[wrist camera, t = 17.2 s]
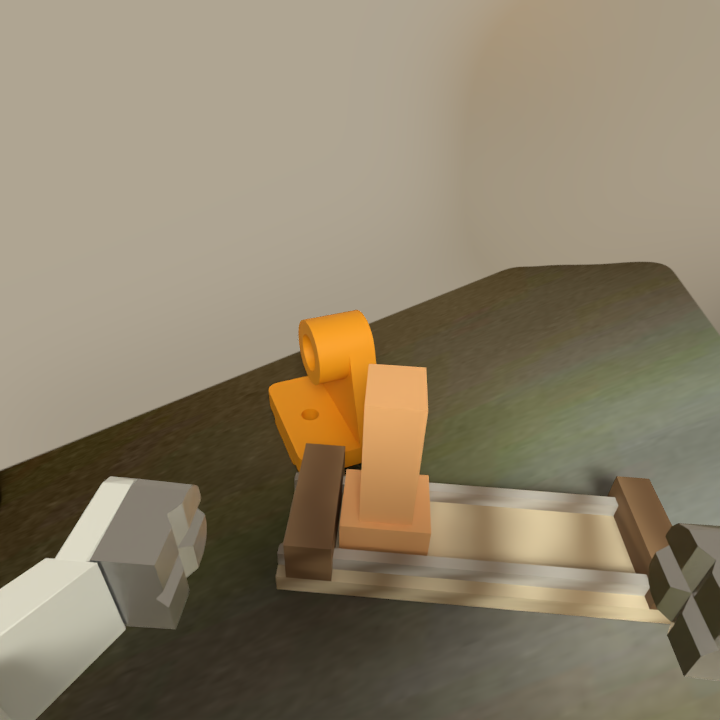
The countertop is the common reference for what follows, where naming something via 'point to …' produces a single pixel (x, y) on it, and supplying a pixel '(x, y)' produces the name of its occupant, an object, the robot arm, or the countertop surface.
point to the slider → (390, 467)
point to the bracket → (327, 387)
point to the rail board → (485, 547)
